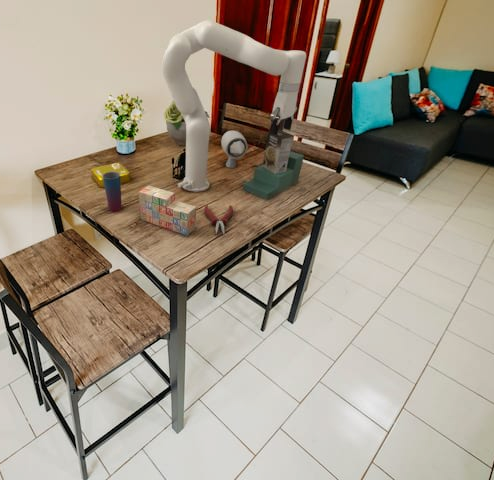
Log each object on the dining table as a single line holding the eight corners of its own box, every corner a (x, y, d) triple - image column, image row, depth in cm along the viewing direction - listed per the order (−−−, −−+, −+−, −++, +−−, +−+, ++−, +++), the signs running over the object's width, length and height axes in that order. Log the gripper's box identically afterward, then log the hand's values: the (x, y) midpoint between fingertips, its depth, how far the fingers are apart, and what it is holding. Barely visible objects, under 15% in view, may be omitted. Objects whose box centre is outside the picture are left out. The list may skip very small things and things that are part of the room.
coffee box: (261, 166, 151) (267, 130, 142) (273, 164, 153) (279, 128, 144) (274, 174, 144) (281, 137, 135) (286, 171, 146) (294, 135, 137)
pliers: (204, 236, 121) (204, 230, 119) (204, 208, 137) (204, 203, 136) (236, 238, 120) (237, 232, 119) (232, 209, 136) (232, 204, 135)
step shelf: (266, 199, 143) (271, 171, 135) (242, 189, 151) (245, 162, 143) (298, 182, 156) (304, 155, 149) (273, 173, 164) (278, 147, 157)
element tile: (91, 176, 164) (90, 167, 161) (120, 170, 169) (119, 161, 167) (101, 188, 153) (99, 178, 150) (131, 181, 159) (130, 172, 156)
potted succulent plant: (185, 133, 215) (186, 92, 200) (214, 143, 199) (217, 100, 185) (155, 142, 202) (153, 99, 188) (182, 154, 186) (183, 108, 172)
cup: (115, 203, 142) (111, 169, 133) (127, 208, 138) (123, 174, 130) (103, 209, 138) (98, 175, 129) (115, 214, 134) (110, 180, 125)
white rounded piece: (210, 172, 166) (212, 137, 156) (222, 158, 180) (225, 125, 170) (240, 177, 161) (244, 142, 150) (250, 162, 175) (255, 129, 165)
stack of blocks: (195, 228, 125) (197, 199, 118) (187, 236, 121) (187, 206, 114) (149, 212, 135) (148, 184, 128) (140, 219, 131) (138, 191, 124)
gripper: (292, 82, 136) (283, 125, 146) (267, 88, 127) (260, 133, 137) (309, 85, 132) (299, 129, 142) (285, 92, 122) (276, 138, 132)
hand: (280, 131), depth 139 cm, fingers open, 9 cm apart
